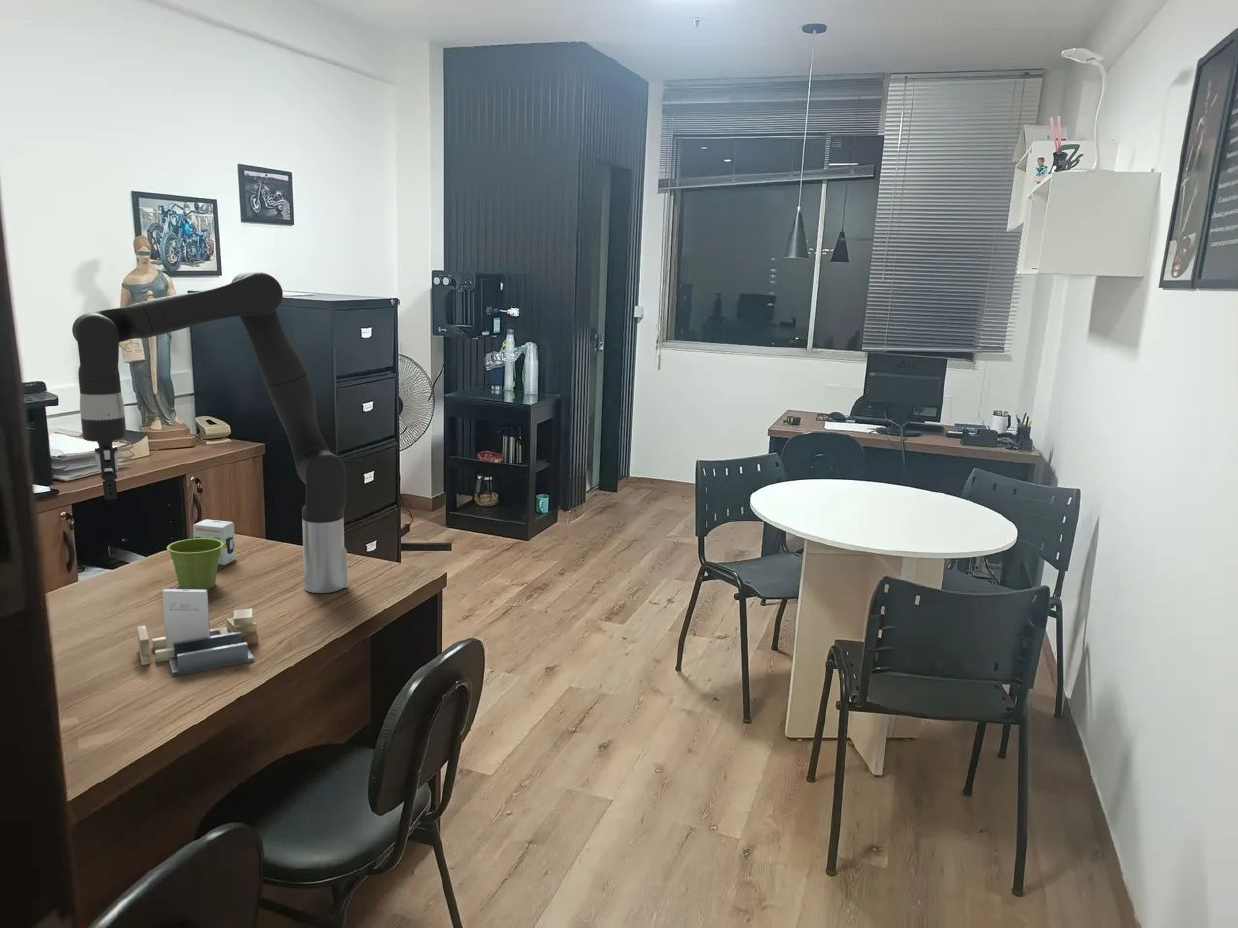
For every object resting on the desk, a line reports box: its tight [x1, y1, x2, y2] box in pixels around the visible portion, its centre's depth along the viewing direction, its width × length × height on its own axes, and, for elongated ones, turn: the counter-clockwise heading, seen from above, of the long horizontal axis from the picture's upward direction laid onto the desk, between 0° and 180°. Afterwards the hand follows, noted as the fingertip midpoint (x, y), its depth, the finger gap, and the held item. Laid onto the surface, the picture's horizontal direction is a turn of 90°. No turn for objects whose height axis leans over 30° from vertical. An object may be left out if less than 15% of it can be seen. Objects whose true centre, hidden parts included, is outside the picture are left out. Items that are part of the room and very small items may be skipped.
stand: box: [168, 631, 255, 677], centre depth 164 cm, size 14×7×4 cm, turn 123°
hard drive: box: [161, 588, 211, 649], centre depth 168 cm, size 2×8×12 cm, turn 94°
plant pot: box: [166, 538, 224, 590], centre depth 199 cm, size 12×12×11 cm
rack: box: [136, 625, 228, 666], centre depth 168 cm, size 16×7×5 cm, turn 123°
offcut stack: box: [226, 607, 259, 647], centre depth 174 cm, size 5×7×6 cm
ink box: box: [192, 518, 236, 566], centre depth 215 cm, size 9×5×12 cm, turn 81°
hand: (110, 494), depth 173 cm, fingers open, 8 cm apart
